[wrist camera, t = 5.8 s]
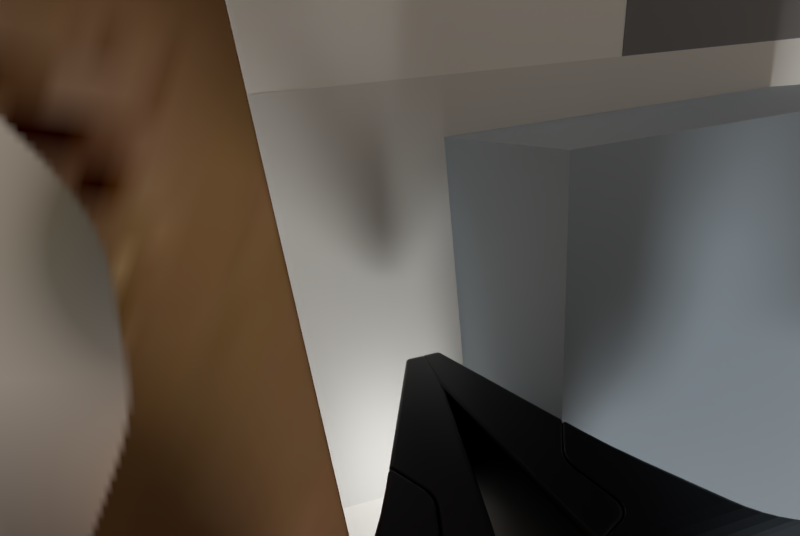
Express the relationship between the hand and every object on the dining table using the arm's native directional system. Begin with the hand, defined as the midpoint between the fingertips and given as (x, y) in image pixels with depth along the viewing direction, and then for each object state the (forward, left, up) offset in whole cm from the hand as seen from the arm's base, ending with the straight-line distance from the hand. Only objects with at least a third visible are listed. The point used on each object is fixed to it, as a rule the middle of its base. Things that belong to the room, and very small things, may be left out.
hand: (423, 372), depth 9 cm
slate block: (+6, 0, -2) cm, 7 cm away
